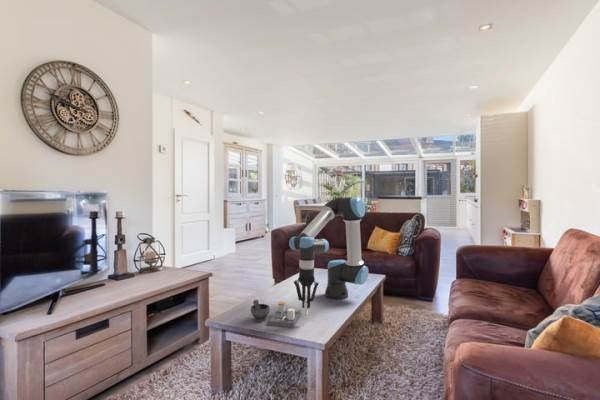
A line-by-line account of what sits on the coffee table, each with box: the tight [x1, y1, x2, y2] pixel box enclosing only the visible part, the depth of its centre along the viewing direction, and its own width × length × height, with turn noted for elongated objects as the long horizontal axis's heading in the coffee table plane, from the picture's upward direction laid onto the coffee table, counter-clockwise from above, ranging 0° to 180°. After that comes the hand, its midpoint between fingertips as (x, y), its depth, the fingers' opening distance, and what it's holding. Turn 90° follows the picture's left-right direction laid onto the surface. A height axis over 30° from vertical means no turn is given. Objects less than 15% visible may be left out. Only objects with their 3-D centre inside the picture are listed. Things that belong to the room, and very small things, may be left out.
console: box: [268, 308, 302, 328], centre depth 168 cm, size 13×18×2 cm
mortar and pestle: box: [250, 299, 270, 323], centre depth 166 cm, size 11×9×12 cm
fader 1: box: [277, 301, 286, 312], centre depth 173 cm, size 3×3×5 cm
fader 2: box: [287, 308, 296, 320], centre depth 163 cm, size 3×3×5 cm
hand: (306, 314), depth 161 cm, fingers closed
